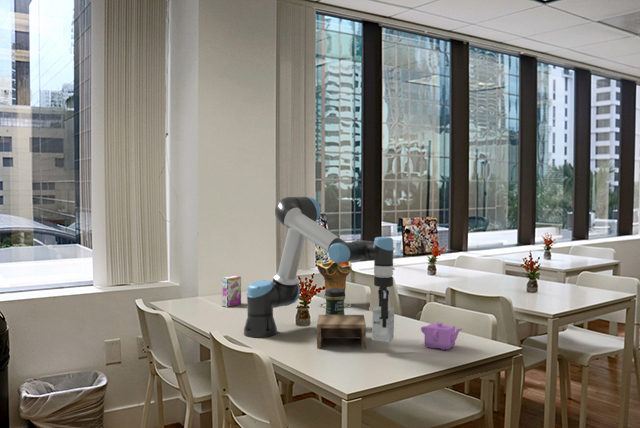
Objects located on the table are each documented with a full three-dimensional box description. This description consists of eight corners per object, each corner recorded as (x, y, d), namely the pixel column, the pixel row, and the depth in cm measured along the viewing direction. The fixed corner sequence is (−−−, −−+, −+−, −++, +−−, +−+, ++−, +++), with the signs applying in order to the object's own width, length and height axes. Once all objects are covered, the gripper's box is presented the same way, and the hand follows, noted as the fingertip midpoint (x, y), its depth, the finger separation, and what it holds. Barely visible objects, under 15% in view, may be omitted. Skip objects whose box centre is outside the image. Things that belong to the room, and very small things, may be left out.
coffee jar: (330, 329, 255) (330, 290, 255) (322, 326, 262) (322, 287, 261) (348, 327, 260) (348, 288, 259) (339, 323, 267) (339, 286, 266)
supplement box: (371, 340, 216) (371, 309, 216) (376, 336, 223) (377, 305, 223) (389, 342, 214) (390, 310, 213) (394, 338, 220) (394, 307, 220)
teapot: (467, 347, 225) (467, 322, 225) (457, 355, 214) (457, 329, 213) (426, 341, 235) (426, 317, 235) (414, 348, 223) (414, 324, 223)
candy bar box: (227, 307, 307) (227, 278, 307) (221, 306, 310) (221, 277, 310) (241, 304, 316) (241, 276, 316) (235, 303, 319) (235, 275, 319)
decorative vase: (309, 307, 304) (310, 257, 304) (325, 302, 325) (326, 255, 325) (344, 310, 296) (345, 259, 296) (358, 304, 317) (359, 256, 317)
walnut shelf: (317, 348, 224) (316, 324, 224) (318, 337, 242) (318, 314, 242) (365, 348, 224) (365, 324, 223) (364, 337, 242) (363, 314, 241)
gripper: (395, 280, 206) (395, 339, 207) (390, 272, 228) (390, 325, 229) (375, 280, 207) (375, 339, 208) (372, 271, 228) (372, 325, 229)
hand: (383, 332), depth 218 cm, fingers closed on supplement box, 9 cm apart
